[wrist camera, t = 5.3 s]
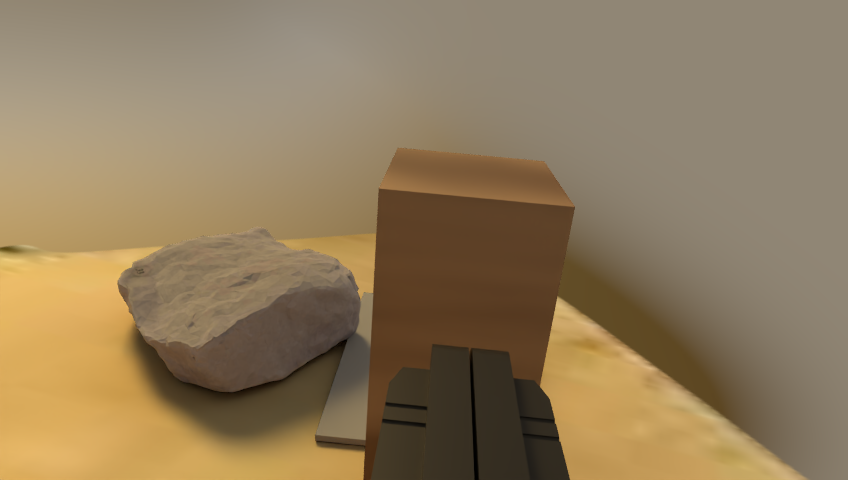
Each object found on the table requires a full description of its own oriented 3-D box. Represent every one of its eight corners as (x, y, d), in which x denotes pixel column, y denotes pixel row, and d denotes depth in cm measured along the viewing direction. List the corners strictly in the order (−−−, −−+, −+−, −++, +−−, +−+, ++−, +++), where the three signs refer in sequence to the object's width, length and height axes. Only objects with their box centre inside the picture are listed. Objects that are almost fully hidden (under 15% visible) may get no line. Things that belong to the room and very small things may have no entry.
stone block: (222, 444, 24) (379, 325, 30) (187, 362, 22) (366, 252, 28) (114, 345, 31) (259, 266, 37) (80, 276, 29) (241, 204, 35)
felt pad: (553, 464, 22) (554, 459, 22) (315, 440, 23) (315, 434, 22) (518, 311, 34) (518, 307, 34) (363, 296, 35) (363, 292, 34)
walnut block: (498, 594, 17) (574, 207, 12) (358, 579, 17) (379, 188, 12) (489, 483, 21) (544, 161, 16) (376, 471, 21) (397, 147, 16)
